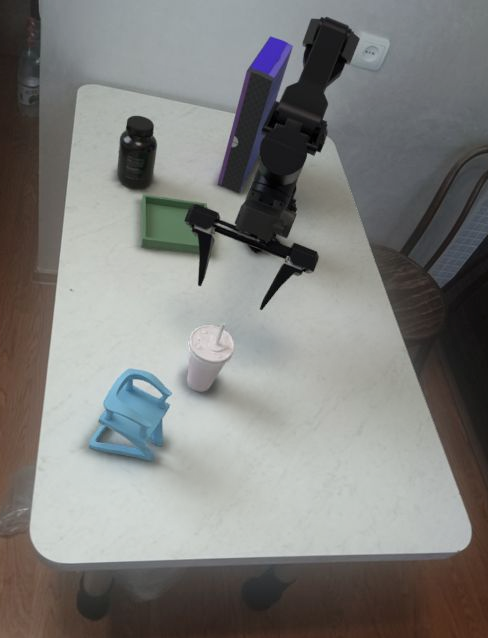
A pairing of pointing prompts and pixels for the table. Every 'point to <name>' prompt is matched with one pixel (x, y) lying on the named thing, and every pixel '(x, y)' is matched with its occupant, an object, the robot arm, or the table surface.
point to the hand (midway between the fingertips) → (230, 297)
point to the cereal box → (253, 112)
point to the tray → (167, 224)
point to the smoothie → (208, 355)
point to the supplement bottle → (137, 153)
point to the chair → (133, 415)
